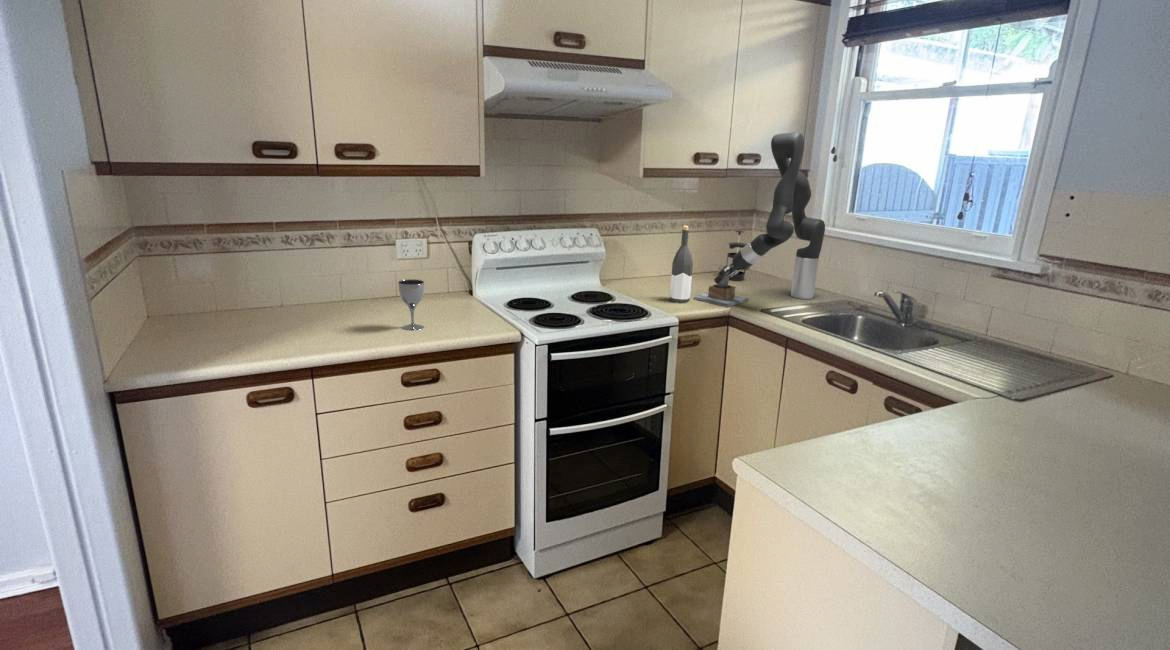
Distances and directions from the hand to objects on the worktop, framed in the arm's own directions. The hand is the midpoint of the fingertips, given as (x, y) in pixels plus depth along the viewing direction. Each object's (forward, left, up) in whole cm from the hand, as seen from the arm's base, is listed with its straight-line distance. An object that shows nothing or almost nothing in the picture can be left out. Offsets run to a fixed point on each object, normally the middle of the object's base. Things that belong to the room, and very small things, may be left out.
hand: (718, 280), depth 257 cm
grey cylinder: (0, +2, -4) cm, 5 cm away
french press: (-43, -17, -8) cm, 47 cm away
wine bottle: (+15, -8, -8) cm, 19 cm away
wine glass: (+116, -42, -8) cm, 124 cm away
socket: (0, +2, -8) cm, 8 cm away
